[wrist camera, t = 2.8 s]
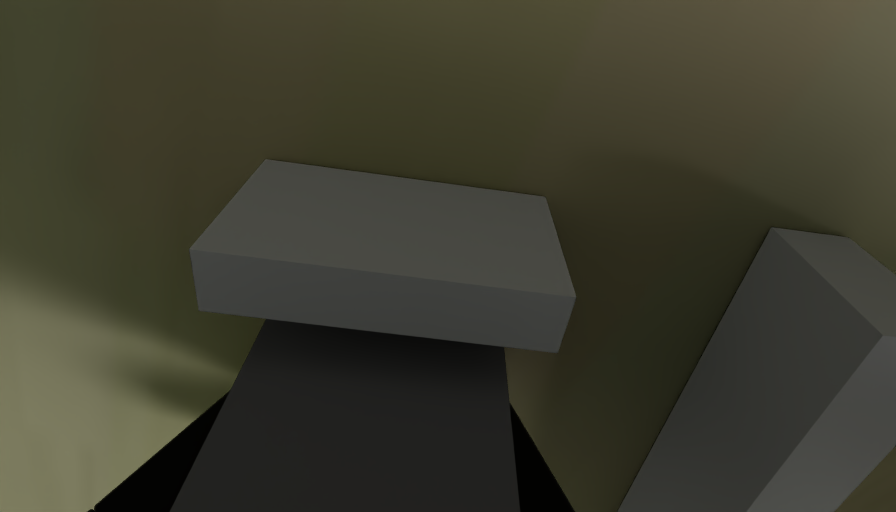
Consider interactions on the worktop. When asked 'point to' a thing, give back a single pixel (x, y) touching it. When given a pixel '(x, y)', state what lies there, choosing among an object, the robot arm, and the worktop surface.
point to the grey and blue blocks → (548, 311)
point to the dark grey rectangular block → (359, 427)
